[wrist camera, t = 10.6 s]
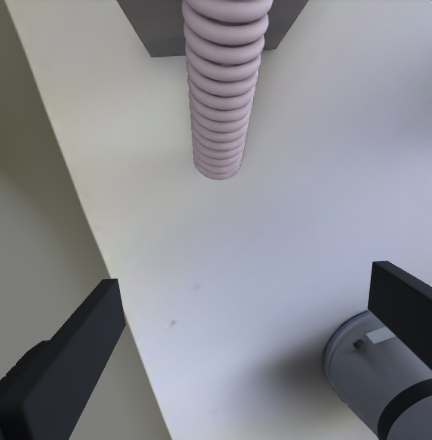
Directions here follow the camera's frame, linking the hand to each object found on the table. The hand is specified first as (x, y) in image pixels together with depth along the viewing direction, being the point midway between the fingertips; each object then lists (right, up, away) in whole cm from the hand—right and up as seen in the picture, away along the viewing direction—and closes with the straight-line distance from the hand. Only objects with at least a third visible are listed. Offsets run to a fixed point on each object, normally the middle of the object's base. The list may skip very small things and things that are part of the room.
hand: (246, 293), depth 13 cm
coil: (-1, +15, +5) cm, 16 cm away
